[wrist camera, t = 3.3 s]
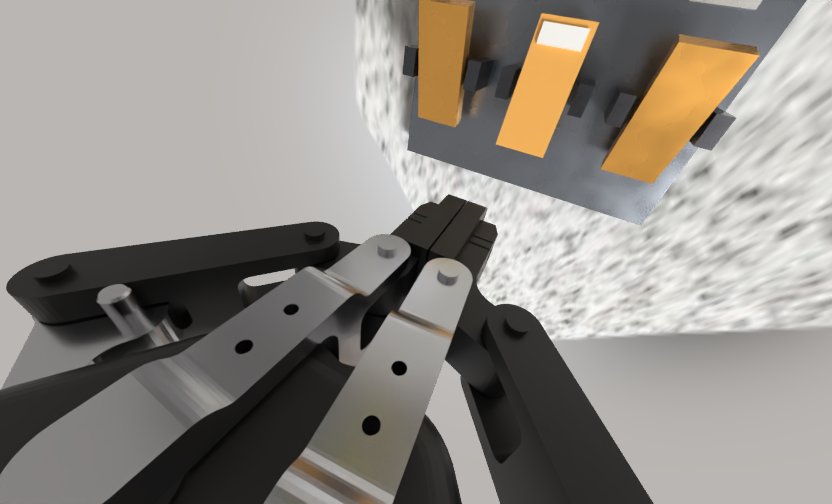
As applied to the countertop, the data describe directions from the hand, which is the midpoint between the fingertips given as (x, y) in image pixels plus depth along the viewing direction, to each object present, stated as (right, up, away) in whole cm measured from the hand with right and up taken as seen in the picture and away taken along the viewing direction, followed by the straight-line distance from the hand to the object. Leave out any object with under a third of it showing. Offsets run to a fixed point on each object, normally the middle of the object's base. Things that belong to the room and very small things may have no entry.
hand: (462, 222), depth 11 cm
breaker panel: (+8, +11, +10) cm, 17 cm away
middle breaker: (+6, +8, +6) cm, 12 cm away
